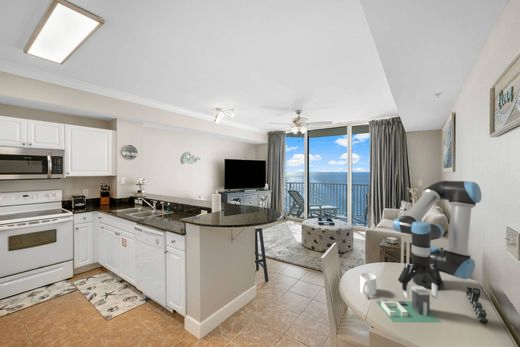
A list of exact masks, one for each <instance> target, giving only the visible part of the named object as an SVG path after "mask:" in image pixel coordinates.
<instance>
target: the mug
mask: <svg viewBox="0 0 520 347" xmlns="http://www.w3.org/2000/svg"><path fill="white" fill-rule="evenodd" d="M359 291H360V294H361V295H362V296H364V297H366V298H368V297H369V296H370V297H372V296H376V295H377V276H376V275H375V274H372V273H369V272H361V273H360V275H359Z"/></svg>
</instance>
